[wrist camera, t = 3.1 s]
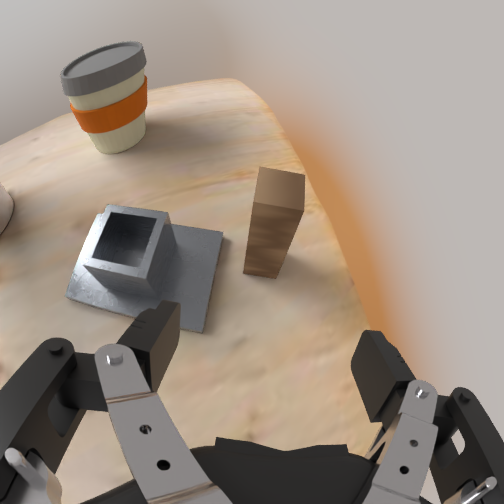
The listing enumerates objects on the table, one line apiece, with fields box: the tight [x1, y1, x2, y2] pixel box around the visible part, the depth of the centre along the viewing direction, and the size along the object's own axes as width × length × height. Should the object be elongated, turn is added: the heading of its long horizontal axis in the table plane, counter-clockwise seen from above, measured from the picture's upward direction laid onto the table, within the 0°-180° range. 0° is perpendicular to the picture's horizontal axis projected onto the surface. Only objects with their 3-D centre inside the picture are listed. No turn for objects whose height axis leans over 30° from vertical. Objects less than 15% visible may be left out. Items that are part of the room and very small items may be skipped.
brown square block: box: [243, 167, 305, 279], centre depth 25 cm, size 4×4×12 cm
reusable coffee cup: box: [60, 41, 147, 154], centre depth 32 cm, size 12×13×15 cm
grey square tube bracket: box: [65, 204, 223, 333], centre depth 25 cm, size 16×11×6 cm
